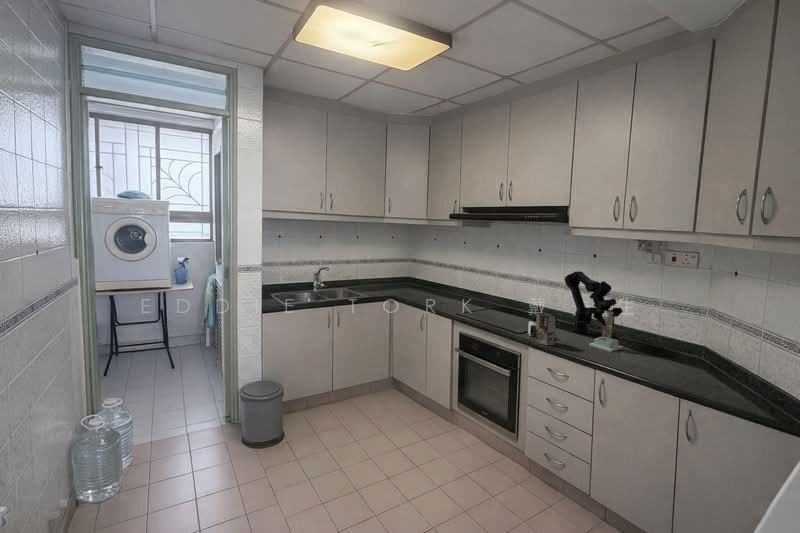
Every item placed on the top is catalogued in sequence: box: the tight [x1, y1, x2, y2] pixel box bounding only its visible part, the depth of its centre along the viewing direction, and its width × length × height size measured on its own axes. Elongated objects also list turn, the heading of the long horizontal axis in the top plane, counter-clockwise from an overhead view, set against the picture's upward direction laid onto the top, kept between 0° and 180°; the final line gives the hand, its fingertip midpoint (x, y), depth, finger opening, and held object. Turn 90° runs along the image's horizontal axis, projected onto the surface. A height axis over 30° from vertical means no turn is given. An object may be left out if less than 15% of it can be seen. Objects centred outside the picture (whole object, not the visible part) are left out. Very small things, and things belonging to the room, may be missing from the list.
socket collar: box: [588, 336, 624, 353], centre depth 218 cm, size 12×12×4 cm
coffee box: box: [534, 312, 558, 346], centre depth 221 cm, size 9×6×16 cm
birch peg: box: [601, 311, 614, 339], centre depth 216 cm, size 4×4×14 cm
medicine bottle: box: [527, 314, 537, 337], centre depth 235 cm, size 7×7×12 cm
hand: (609, 325), depth 215 cm, fingers closed on birch peg, 4 cm apart
